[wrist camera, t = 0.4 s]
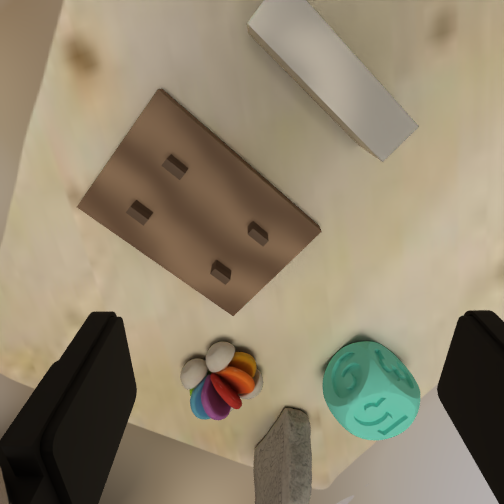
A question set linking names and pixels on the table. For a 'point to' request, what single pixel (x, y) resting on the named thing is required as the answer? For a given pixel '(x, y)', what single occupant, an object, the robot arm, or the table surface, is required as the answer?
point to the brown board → (197, 207)
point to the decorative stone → (284, 461)
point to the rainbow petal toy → (221, 381)
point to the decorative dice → (370, 391)
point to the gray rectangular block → (331, 74)
